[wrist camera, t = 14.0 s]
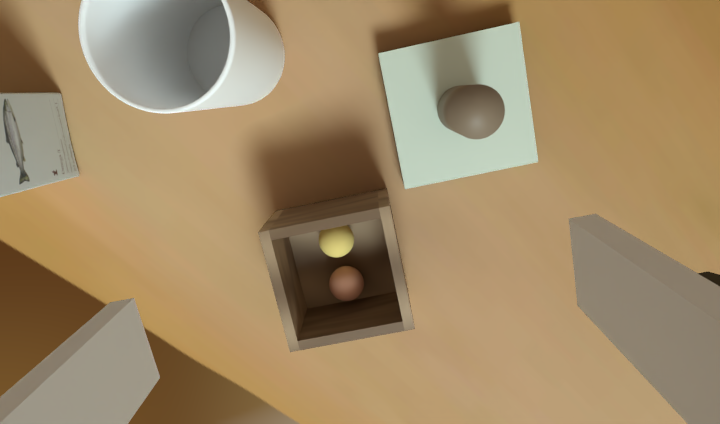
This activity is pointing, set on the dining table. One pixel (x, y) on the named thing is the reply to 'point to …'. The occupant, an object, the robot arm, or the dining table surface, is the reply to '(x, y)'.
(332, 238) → the ball
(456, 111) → the lid
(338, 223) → the box
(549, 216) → the dining table surface
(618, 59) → the dining table surface
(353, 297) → the ball
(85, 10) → the cup
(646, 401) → the dining table surface
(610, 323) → the robot arm
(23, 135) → the supplement box
